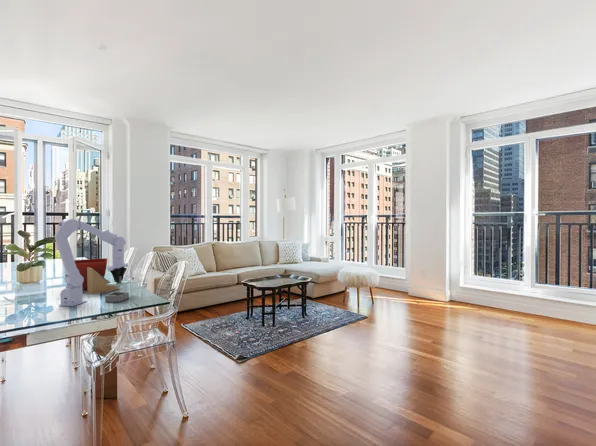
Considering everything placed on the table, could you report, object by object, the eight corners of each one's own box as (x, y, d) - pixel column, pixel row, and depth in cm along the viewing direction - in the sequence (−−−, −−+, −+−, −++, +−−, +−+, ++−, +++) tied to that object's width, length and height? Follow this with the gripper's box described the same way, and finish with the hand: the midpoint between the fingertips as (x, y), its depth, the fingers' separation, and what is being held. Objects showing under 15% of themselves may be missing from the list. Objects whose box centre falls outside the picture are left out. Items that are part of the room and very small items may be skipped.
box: (119, 302, 174) (119, 296, 174) (105, 302, 175) (105, 295, 175) (128, 298, 182) (128, 292, 182) (115, 298, 183) (115, 291, 183)
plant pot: (73, 285, 213) (73, 259, 213) (107, 282, 222) (107, 258, 222) (69, 292, 196) (69, 263, 196) (106, 288, 205) (106, 261, 205)
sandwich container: (120, 289, 203) (120, 265, 203) (92, 294, 192) (92, 268, 191) (114, 287, 209) (114, 264, 209) (87, 292, 197) (86, 267, 197)
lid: (120, 286, 183) (119, 278, 183) (106, 286, 185) (106, 277, 185) (130, 283, 192) (130, 275, 191) (117, 283, 193) (117, 274, 193)
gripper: (116, 259, 180) (116, 284, 180) (132, 255, 194) (133, 278, 195) (104, 259, 181) (104, 283, 181) (121, 255, 195) (121, 278, 196)
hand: (118, 281), depth 188 cm, fingers closed on lid, 3 cm apart
